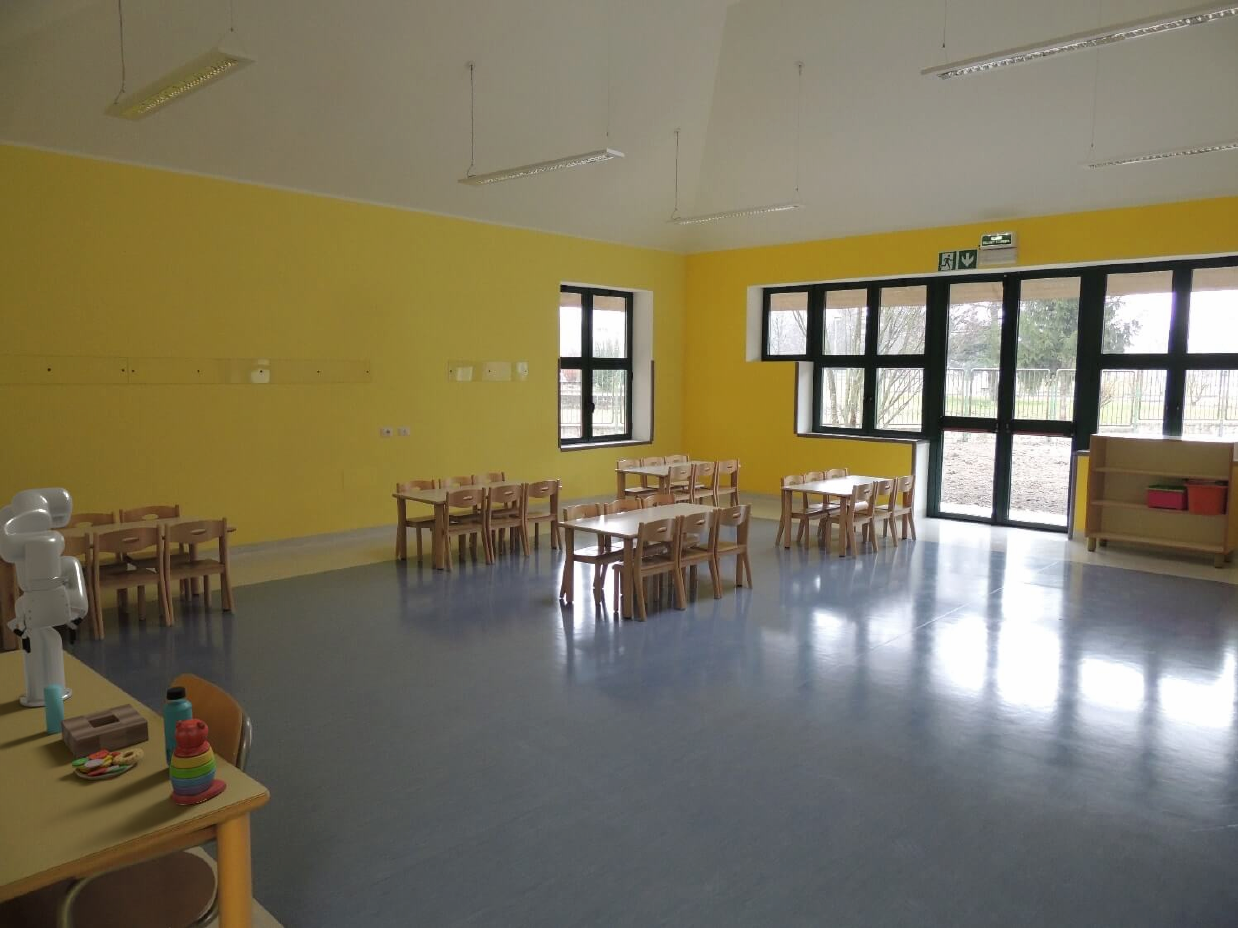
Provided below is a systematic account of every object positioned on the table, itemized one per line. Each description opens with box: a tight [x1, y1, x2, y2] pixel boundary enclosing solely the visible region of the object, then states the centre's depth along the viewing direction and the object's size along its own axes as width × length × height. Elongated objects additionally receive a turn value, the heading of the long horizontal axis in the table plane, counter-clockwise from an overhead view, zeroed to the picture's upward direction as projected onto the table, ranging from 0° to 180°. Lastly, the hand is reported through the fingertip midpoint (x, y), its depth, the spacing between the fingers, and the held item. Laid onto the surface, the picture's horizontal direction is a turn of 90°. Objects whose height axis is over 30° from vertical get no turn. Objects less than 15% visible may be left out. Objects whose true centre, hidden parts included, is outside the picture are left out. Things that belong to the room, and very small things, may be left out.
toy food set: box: [71, 748, 145, 781], centre depth 210 cm, size 13×13×3 cm
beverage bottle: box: [162, 686, 193, 768], centre depth 209 cm, size 6×7×20 cm
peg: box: [44, 684, 65, 735], centre depth 230 cm, size 4×4×12 cm
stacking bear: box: [168, 718, 227, 805], centre depth 196 cm, size 11×10×18 cm
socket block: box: [61, 703, 150, 760], centre depth 225 cm, size 16×16×5 cm
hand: (49, 647), depth 228 cm, fingers open, 9 cm apart
